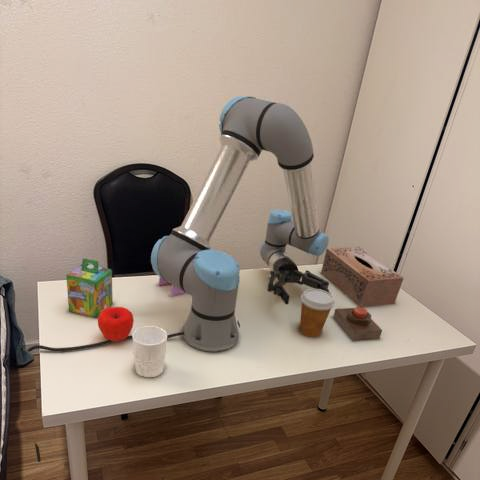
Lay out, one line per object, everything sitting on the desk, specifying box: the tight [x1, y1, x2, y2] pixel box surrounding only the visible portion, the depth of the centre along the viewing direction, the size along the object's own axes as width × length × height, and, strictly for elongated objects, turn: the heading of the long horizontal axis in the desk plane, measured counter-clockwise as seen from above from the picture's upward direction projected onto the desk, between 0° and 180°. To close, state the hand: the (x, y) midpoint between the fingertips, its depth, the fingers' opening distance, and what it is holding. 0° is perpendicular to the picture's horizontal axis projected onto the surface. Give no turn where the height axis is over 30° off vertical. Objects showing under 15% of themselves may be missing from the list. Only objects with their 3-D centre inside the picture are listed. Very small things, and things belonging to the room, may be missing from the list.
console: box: [332, 307, 383, 342], centre depth 132 cm, size 9×13×5 cm
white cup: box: [131, 325, 168, 378], centre depth 103 cm, size 8×8×10 cm
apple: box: [97, 306, 135, 342], centre depth 113 cm, size 9×9×8 cm
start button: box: [353, 306, 369, 318], centre depth 131 cm, size 4×4×2 cm
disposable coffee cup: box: [299, 288, 335, 338], centre depth 126 cm, size 10×10×12 cm
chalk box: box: [65, 258, 114, 319], centre depth 122 cm, size 9×9×15 cm
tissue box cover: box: [320, 246, 404, 308], centre depth 155 cm, size 26×14×10 cm, turn 22°
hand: (308, 299), depth 128 cm, fingers open, 13 cm apart
